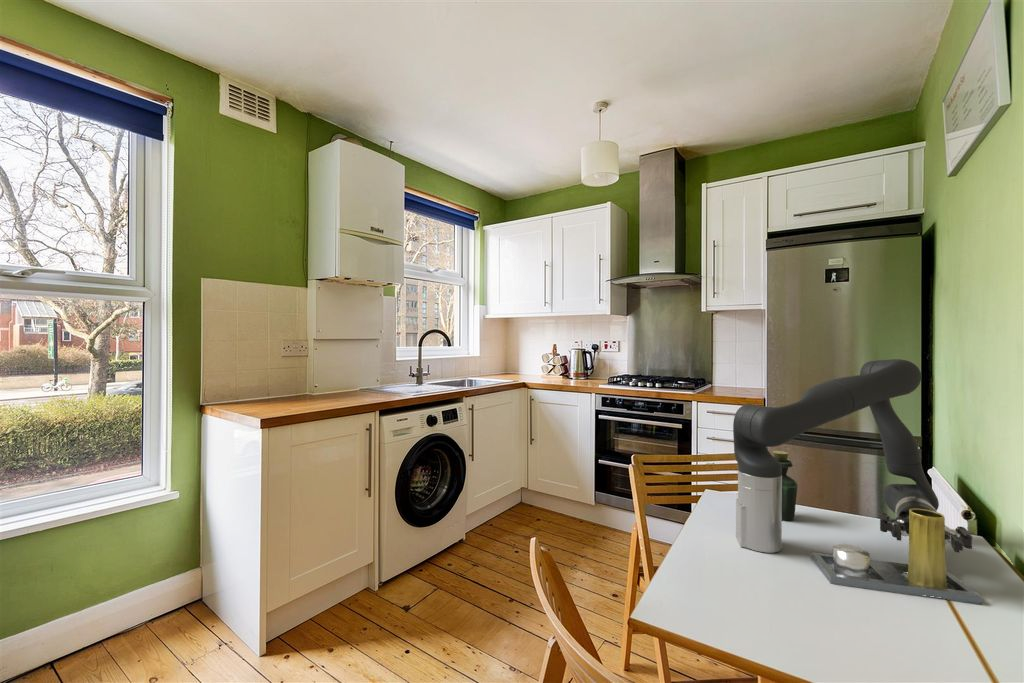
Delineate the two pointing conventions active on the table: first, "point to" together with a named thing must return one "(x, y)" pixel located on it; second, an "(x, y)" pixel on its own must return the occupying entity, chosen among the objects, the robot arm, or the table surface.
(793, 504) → the potion bottle
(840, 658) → the table surface
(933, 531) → the vase
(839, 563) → the grey rectangular frame
